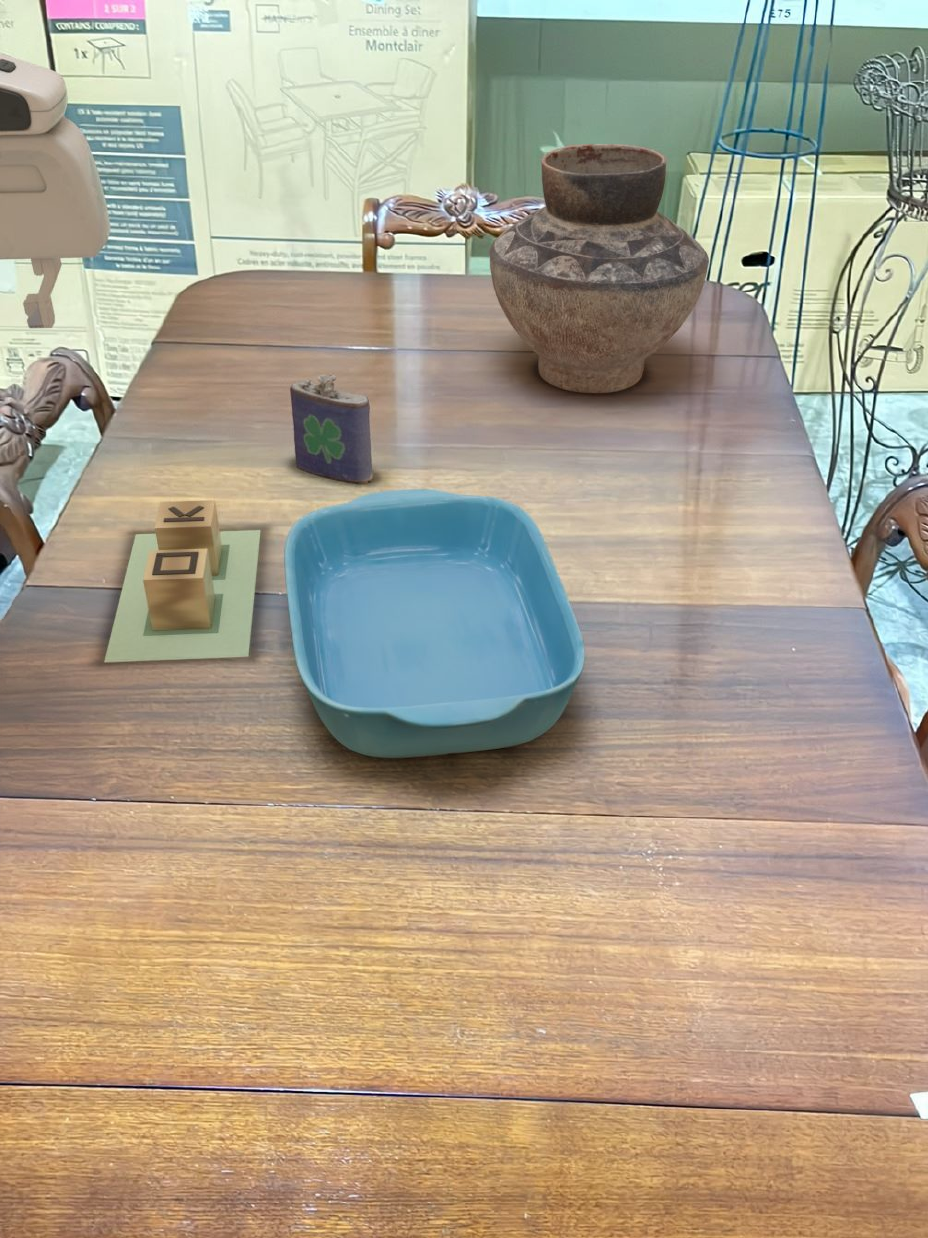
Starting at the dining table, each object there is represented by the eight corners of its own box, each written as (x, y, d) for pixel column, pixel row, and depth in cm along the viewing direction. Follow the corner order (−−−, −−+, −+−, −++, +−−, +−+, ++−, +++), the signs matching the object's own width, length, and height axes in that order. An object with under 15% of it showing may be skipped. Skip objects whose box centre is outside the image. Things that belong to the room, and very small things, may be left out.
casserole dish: (283, 560, 118) (276, 490, 113) (516, 543, 121) (519, 473, 116) (308, 813, 91) (300, 734, 86) (608, 783, 93) (616, 706, 89)
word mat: (104, 666, 105) (103, 661, 104) (136, 537, 121) (135, 533, 121) (249, 660, 105) (248, 655, 105) (261, 533, 122) (260, 529, 122)
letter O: (152, 630, 108) (142, 578, 105) (158, 600, 112) (149, 549, 108) (210, 628, 108) (202, 576, 105) (215, 598, 112) (207, 547, 109)
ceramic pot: (445, 377, 151) (443, 159, 135) (570, 321, 165) (582, 118, 149) (613, 436, 139) (633, 204, 123) (733, 371, 153) (765, 155, 137)
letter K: (163, 577, 115) (154, 526, 111) (168, 550, 118) (160, 500, 115) (218, 575, 115) (210, 524, 112) (222, 548, 119) (215, 498, 115)
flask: (378, 480, 130) (372, 378, 123) (362, 491, 129) (356, 389, 121) (304, 460, 134) (295, 361, 127) (288, 471, 132) (278, 370, 125)
